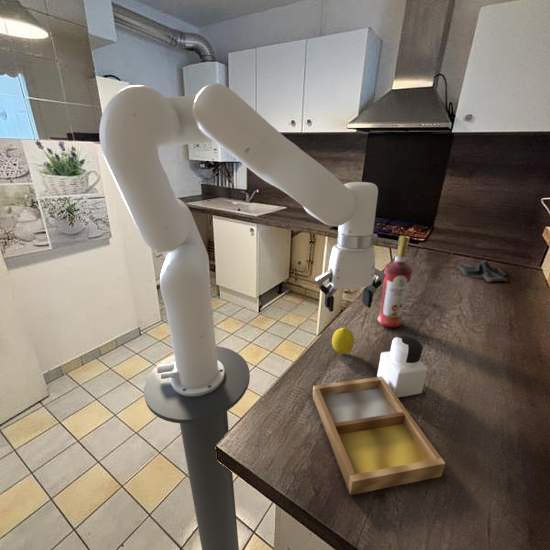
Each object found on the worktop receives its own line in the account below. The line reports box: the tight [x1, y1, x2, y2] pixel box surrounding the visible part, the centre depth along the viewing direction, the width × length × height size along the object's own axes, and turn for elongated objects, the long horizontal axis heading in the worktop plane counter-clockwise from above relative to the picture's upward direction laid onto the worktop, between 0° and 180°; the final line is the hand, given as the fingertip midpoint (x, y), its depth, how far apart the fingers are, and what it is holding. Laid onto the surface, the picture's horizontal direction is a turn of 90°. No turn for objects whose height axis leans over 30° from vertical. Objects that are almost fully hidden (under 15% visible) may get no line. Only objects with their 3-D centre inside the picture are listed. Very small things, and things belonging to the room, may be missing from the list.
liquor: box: [377, 235, 413, 329], centre depth 85 cm, size 7×7×28 cm
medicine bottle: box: [376, 335, 429, 399], centre depth 65 cm, size 7×7×12 cm
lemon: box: [331, 327, 355, 355], centre depth 76 cm, size 6×6×8 cm
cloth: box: [458, 259, 509, 283], centre depth 128 cm, size 22×19×6 cm
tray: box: [312, 376, 446, 496], centre depth 55 cm, size 16×20×3 cm
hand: (348, 307), depth 72 cm, fingers open, 9 cm apart
